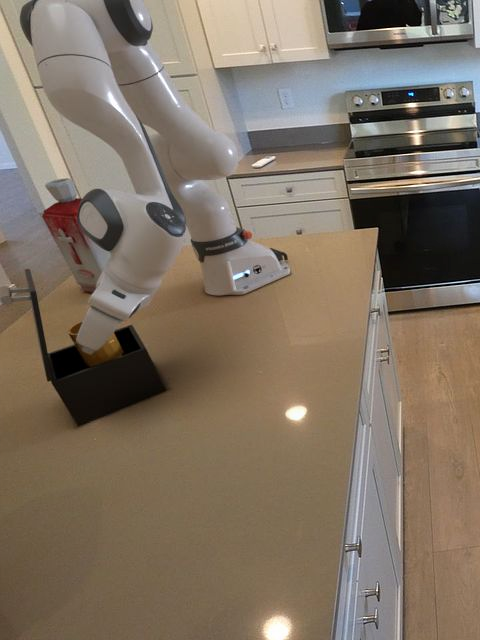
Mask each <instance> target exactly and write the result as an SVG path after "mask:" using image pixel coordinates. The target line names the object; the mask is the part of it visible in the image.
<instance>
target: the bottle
mask: <svg viewBox="0 0 480 640" xmlns="http://www.w3.org/2000/svg"><path fill="white" fill-rule="evenodd" d="M44 187H45V188H46V189H47V191H48V192H49V193H50V195H51V196H52V197H53V199H54V200H55V201H57V202H55V203H53V204H52V205H50V206H49V207H47V208H46V209H44V210H43V214H42V215H41V217H42V219H43V222H44V223H45V225H46V227H47V229H48V231H49V232H50V235H51V236H52V238H53V240H54V243H55V244H56V245H57V248H58V249H59V251H60V254H61V255H62V257H63V259H64V261H65V262H66V265H67V267H68V268H69V270H70V272H71V274H72V276H73V278H74V280H75V282H76V283H77V284H78V285H79V286H80V291H82V292H83V291H84V292H88V293H93V292H94V290H95V289H96V285H97V281H98V279H99V277H100V275H101V273H102V271H103V270H104V268H105V266H106V264H107V262H108V260H109V259H110V258H111V254H110V252H109V251H106V250H104V249H102V248H101V247H99V246H98V245H97V244H96V243H94V242H93V241H92V240H91V239H90V238H89V237H88V236H87V235H86V234H85V233H84V232H83V231H82V229H81V227H80V226H79V223H78V220H77V213H78V208H79V205H80V202H81V200H82V199H83V198H81V197H77V196H78V193H77V189H76V185H75V181H74V180H73V179H71V178H69V177H67V178H65V177H64V178H59V179H58V178H57V179H55V180H50V181H48V182H46V183H45V185H44Z"/></svg>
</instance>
